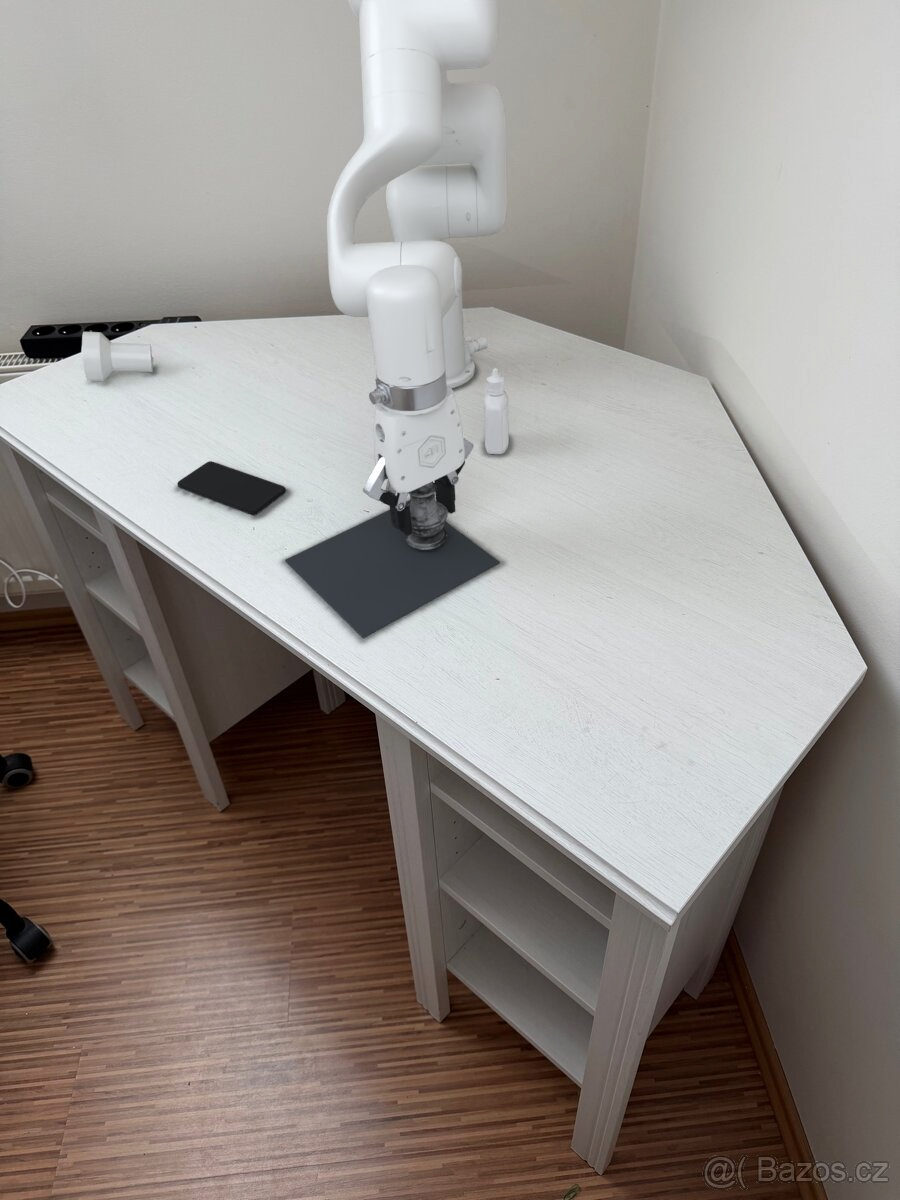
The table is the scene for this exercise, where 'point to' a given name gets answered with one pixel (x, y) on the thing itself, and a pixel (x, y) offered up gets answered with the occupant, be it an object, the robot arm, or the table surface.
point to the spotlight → (113, 356)
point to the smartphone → (232, 487)
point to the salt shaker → (426, 519)
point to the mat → (386, 571)
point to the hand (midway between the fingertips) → (424, 517)
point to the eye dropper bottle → (496, 415)
